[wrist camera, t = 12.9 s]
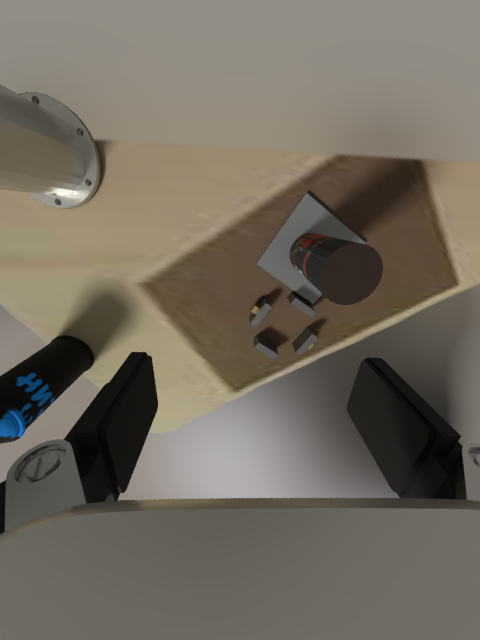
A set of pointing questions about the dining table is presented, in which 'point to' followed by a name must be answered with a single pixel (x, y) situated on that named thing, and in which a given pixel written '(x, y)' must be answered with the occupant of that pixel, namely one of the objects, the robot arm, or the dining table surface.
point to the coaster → (300, 222)
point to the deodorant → (337, 267)
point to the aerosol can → (39, 383)
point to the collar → (299, 344)
